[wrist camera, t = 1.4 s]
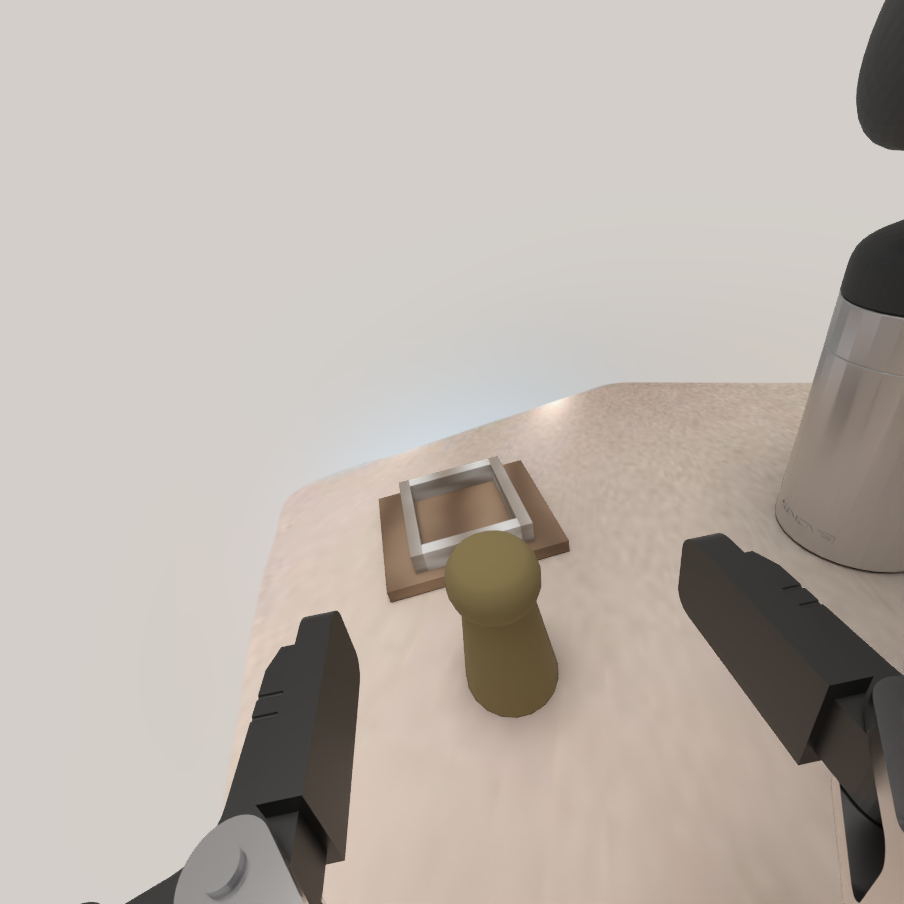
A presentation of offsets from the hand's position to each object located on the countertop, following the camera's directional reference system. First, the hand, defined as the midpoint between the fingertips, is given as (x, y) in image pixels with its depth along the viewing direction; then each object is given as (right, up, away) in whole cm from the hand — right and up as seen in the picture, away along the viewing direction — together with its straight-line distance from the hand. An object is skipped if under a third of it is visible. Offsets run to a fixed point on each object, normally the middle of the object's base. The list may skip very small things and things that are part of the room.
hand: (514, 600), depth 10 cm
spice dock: (0, -3, +30) cm, 31 cm away
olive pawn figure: (+3, -11, +19) cm, 22 cm away
